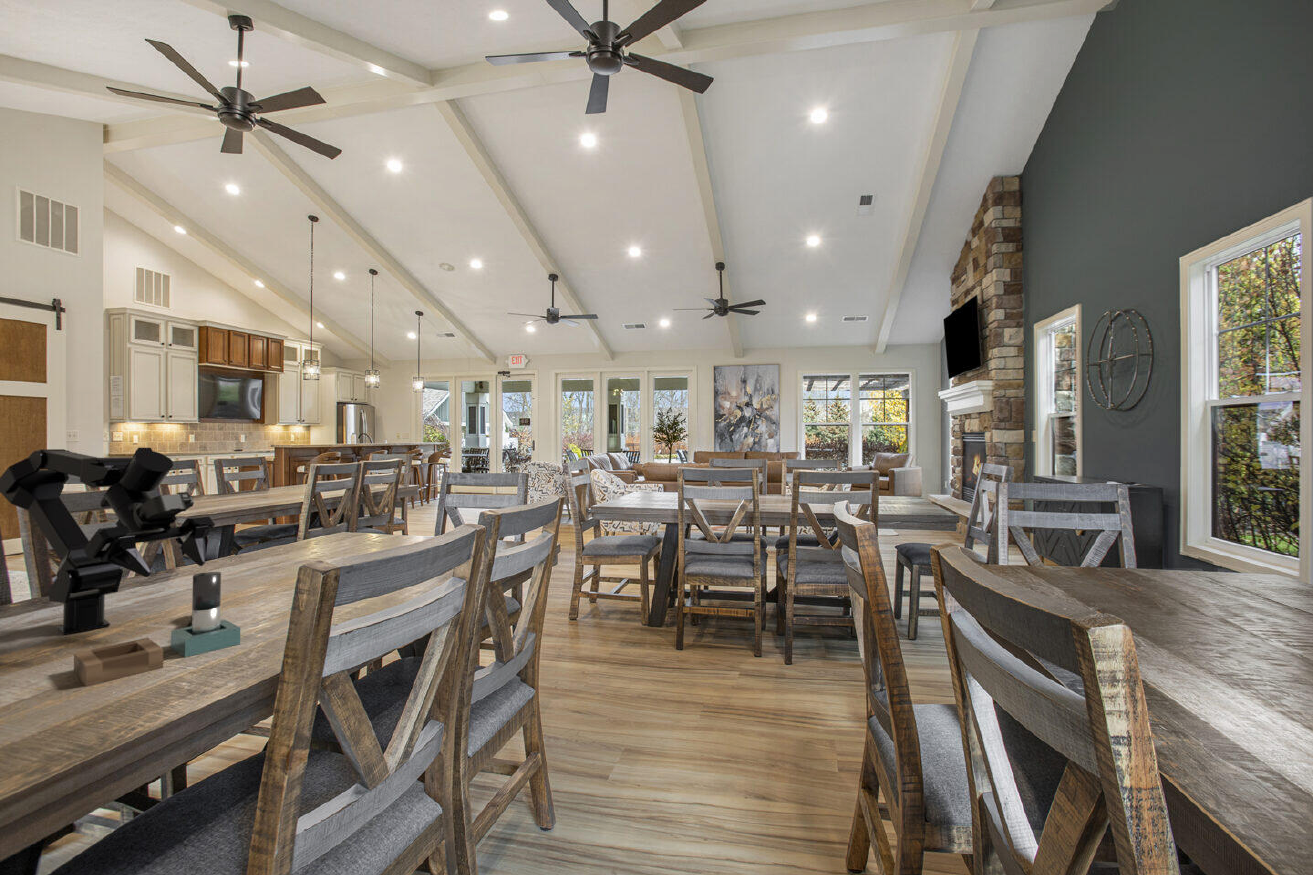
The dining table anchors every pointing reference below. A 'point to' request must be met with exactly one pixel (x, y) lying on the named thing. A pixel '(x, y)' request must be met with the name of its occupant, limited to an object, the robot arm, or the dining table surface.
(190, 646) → the socket block
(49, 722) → the dining table surface
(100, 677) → the frame
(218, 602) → the grey and white cylinder
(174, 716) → the dining table surface
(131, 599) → the dining table surface
